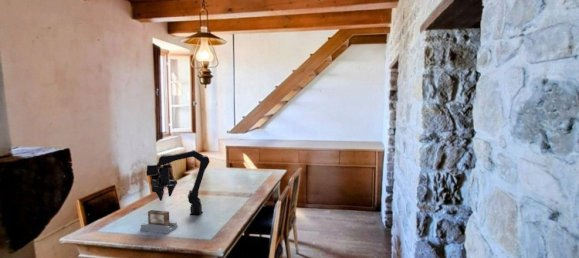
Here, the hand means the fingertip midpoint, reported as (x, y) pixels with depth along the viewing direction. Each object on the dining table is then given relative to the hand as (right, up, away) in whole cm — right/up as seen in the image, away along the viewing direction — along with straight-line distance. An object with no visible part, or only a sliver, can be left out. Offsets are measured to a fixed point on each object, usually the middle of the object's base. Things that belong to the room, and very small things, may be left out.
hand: (165, 198), depth 204 cm
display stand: (+3, -14, -18) cm, 23 cm away
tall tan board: (+3, -12, -18) cm, 22 cm away
